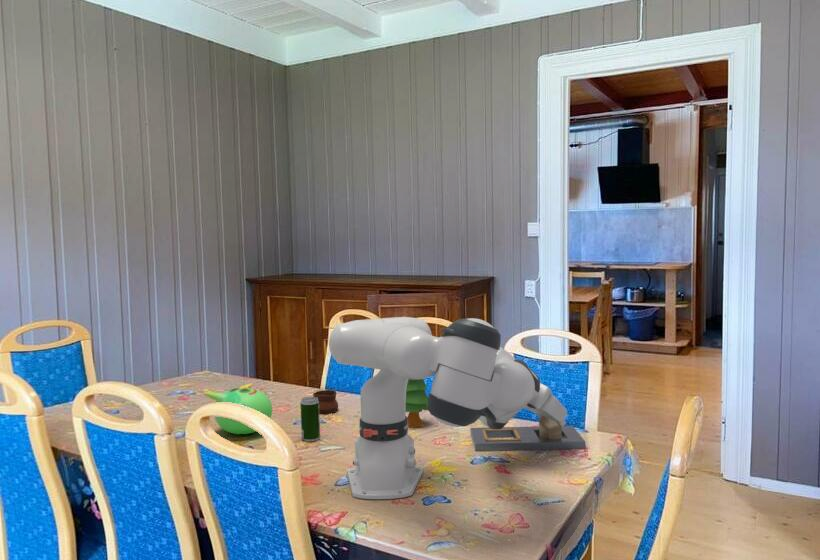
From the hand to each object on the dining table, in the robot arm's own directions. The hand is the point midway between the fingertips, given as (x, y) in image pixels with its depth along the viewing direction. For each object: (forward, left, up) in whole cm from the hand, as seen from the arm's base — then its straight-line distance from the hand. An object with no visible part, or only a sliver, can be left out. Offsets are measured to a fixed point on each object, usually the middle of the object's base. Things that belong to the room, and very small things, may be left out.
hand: (552, 419), depth 177 cm
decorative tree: (+18, +38, -6) cm, 43 cm away
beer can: (+6, +70, -6) cm, 70 cm away
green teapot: (+13, +91, -6) cm, 93 cm away
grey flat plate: (0, +7, -6) cm, 10 cm away
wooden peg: (0, 0, -6) cm, 6 cm away
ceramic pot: (+35, +69, -7) cm, 78 cm away
